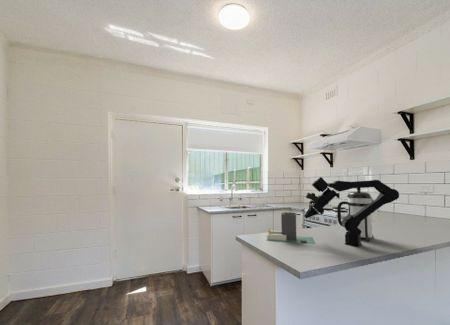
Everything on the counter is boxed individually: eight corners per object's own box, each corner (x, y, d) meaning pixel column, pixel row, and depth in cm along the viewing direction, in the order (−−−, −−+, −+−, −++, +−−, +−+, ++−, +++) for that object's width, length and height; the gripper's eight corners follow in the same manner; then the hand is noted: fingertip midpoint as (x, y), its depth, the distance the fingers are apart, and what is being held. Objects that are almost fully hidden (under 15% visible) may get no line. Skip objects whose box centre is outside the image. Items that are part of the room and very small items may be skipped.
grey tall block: (295, 238, 131) (295, 212, 132) (296, 240, 126) (295, 213, 127) (281, 237, 133) (281, 211, 134) (281, 239, 128) (281, 212, 129)
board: (312, 238, 133) (312, 227, 134) (315, 245, 120) (315, 233, 120) (267, 235, 140) (267, 225, 140) (266, 242, 126) (266, 230, 126)
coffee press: (366, 234, 143) (364, 186, 144) (381, 241, 127) (378, 188, 129) (337, 233, 144) (336, 186, 146) (348, 240, 128) (346, 188, 130)
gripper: (312, 186, 137) (293, 204, 139) (316, 188, 119) (295, 208, 121) (326, 200, 135) (307, 218, 137) (333, 203, 117) (311, 224, 119)
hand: (305, 217), depth 128 cm, fingers open, 3 cm apart
